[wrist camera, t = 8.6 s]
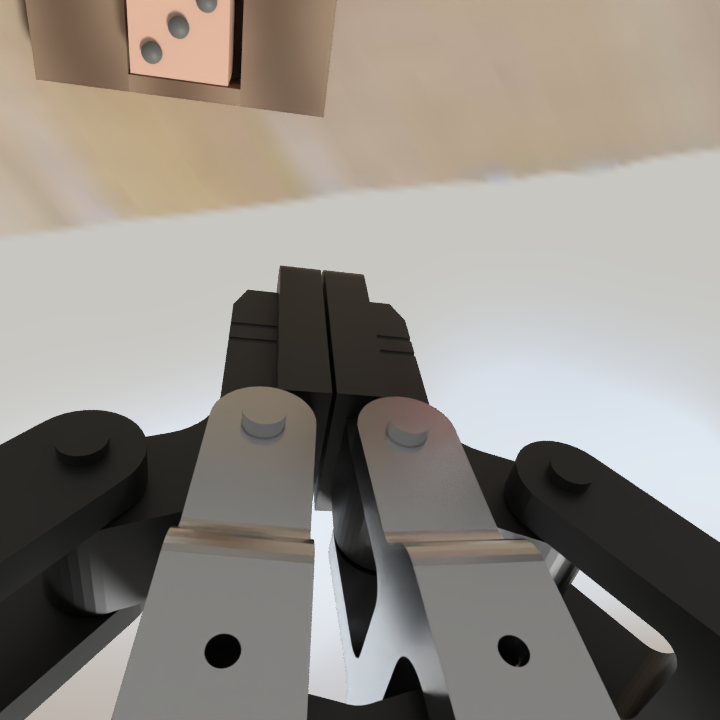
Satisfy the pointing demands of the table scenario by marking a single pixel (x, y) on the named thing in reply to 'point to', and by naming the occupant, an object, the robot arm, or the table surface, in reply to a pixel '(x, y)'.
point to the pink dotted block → (182, 39)
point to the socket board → (255, 89)
